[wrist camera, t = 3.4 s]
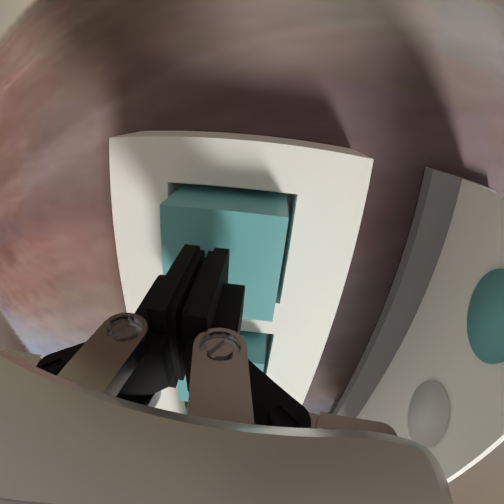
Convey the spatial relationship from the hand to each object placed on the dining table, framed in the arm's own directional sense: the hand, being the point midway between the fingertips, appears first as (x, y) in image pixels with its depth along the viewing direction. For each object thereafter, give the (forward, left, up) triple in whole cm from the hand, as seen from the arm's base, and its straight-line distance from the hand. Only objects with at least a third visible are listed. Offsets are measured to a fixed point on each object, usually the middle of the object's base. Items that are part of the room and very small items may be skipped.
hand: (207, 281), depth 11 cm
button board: (0, +8, -7) cm, 11 cm away
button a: (0, 0, -5) cm, 5 cm away
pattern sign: (-14, +8, -7) cm, 18 cm away
